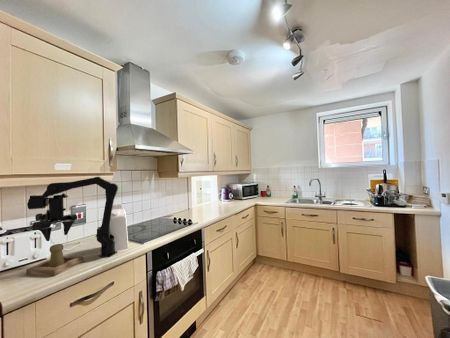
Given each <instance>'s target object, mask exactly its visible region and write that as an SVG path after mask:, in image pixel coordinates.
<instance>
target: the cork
mask: <svg viewBox="0 0 450 338" xmlns="http://www.w3.org/2000/svg"><path fill="white" fill-rule="evenodd" d="M63 250H64V245H63V244H62V243H57V244H53V245H51V246H50V247H49V253H50V258H49V259H50V265H49V267H53V268H55V267H58V266H60V265H62V264H64V258H63V256H64V253H63Z"/></svg>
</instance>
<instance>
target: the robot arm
mask: <svg viewBox="0 0 450 338" xmlns="http://www.w3.org/2000/svg"><path fill="white" fill-rule="evenodd" d="M93 185H96V186H98V187H100V188H101V189H103V190H105V203H104V211H103V214H102V222H101V225H100V226H98V227H97V229H96V234H95V238H96V241H97V242H98V243H99V244H101V248H100V254H99V256H98V257H100V258H101V257H104V258H105V257H106V258H107V257H108V258H109V257H112V256H114V255H115V254H116V253H118V250H115V241H114V238H115V237H114V236H113V235H112V234H110V220H111V214H112V208H113V205H114V203H115V202H114V201H115V197H117V193H118V191H119V186H118V184H116V183H111V182H109V181H108V180H105V179H104V178H102V177H100V176H94V177H91V178H85V179H80V180H75V181H67V182H52V183H49V184H48V185H47V187H46V190H45V191H44V192H43V194H41V195H29V198H28V200H27V201H28V202H27V209H28V210H38V209H39V210H40V209H45V208H47V207H48V209H47V210H46V211H45V213H44V214H43V213H37V214H35V217H34V218H35V222H33V223H32V224H31V225H32V228H31V229H34V230H36V231H40V232H41V233H42V235H43V237H44V239H45V241H46V242H50V239H51V235H52V234H51V233H52V227H53V226H51V225H54V224H57V223H61V224H62V225H63V234H64V236H67V235H68V233H69V231H70V229H71V228H72V226H73V224H74V223H75V222H76V220H78V216H77V214H75V213H74V214H72V213H71V214H70V213H69V214H64V213H65V211H66V209H67V208H65V207H64V199H66V198H69V195H67V194H66V193H65V192H67V191H70V190H72V189H78V188H82V187H87V186H93ZM61 193H62V194H61Z"/></svg>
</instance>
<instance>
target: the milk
mask: <svg viewBox="0 0 450 338" xmlns="http://www.w3.org/2000/svg"><path fill="white" fill-rule="evenodd" d="M110 234H112V235H113V236H114V237H115V238H114V241H115V251H118V250H125V249H129V238H128V236H129V235H128V234H129V233H128V221H127V213H126V210H125V208H124V206H123V204H122V203H118V204H113V208H112V214H111V220H110Z"/></svg>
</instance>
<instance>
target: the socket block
mask: <svg viewBox="0 0 450 338" xmlns="http://www.w3.org/2000/svg"><path fill="white" fill-rule="evenodd" d="M63 258H64V264H62V265H60V266H58V267H55V268H53V267H49V265H50V258H49V259H47V260H44V261H42V262H40V263H38V264H35V265H33V266H31V267H29V268H26V269H25V275H26V276H42V277H43V276H44V277H56V276H58V275H59V274H61V273H64V272H65V271H68V270H69V269H71V268H73V267H75V266H77V265H79V264H81V263H82V262H84V255H63Z"/></svg>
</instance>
